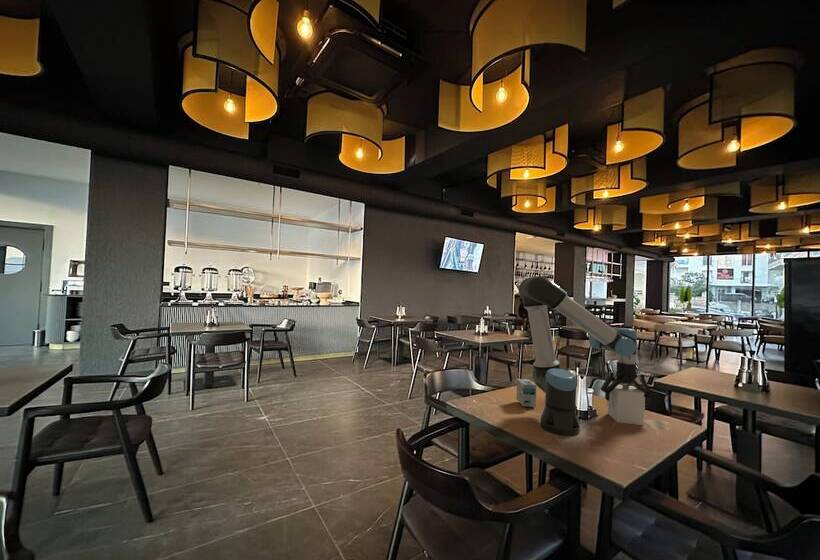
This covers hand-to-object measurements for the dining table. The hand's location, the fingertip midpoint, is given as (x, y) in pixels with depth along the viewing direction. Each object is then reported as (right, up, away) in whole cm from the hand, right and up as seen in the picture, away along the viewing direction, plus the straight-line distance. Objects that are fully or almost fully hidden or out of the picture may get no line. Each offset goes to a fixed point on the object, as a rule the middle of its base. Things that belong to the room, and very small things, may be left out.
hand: (625, 409), depth 148 cm
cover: (0, -5, 0) cm, 5 cm away
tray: (+11, -5, -6) cm, 14 cm away
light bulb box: (-40, -4, +16) cm, 43 cm away
